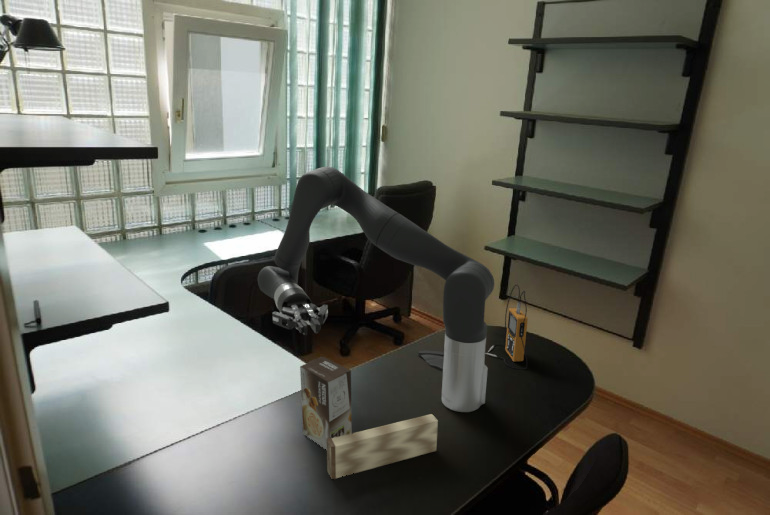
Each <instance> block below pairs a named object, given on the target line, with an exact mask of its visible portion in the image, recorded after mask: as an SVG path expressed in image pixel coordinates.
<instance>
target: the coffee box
mask: <svg viewBox="0 0 770 515" xmlns="http://www.w3.org/2000/svg"><path fill="white" fill-rule="evenodd" d="M299 370H300V371H299V376H300V393H301V394H300V395H301V412H302V413H301V416H302V434H304V436H305V435H306V436H307V437H306V436H305V437H306V438H308V437H309V438H310V439H309V438H308V439H309V440H311V439H312V440H313V441H314V443H315V442H316V443H317V444H316V443H315V444H316V445H318V444H319V445H320V446H319V445H318V446H319V447H321V448H322V447H323V448H322V449H323V450H325V449H326V450H325V451H327V438H330V437H331V438H335V437H339V436H343V435H347V434H351V433H353V432H352V370H351V369H349V368H347V367H345V366H343V365H341V364H339V363H337V362H335V361H333V360H332V359H329V358H327V357H325V356H324V355H321V356H319V357H317V358H314V359H312V360H310V361H308V362H307V363H305V364H302V365H300V366H299ZM312 440H311V441H312ZM313 441H312V442H313Z"/></svg>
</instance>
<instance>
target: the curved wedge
mask: <svg viewBox="0 0 770 515" xmlns="http://www.w3.org/2000/svg"><path fill="white" fill-rule="evenodd" d="M417 354H418V356H419V358H421V359H423V360H424V362H426V363H427V365H428V366H429V367H431V368H434V369H436V370H438V371H441V372H443V362H444V351H437V350H427V349H425V350H420V351H418V352H417Z"/></svg>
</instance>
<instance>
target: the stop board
mask: <svg viewBox="0 0 770 515" xmlns="http://www.w3.org/2000/svg"><path fill="white" fill-rule="evenodd" d="M438 422H439V420H438V419H437V418H436V417H435V416H434V415H433V414H432V413H430V414H425V415H422V416H417V417H413V418H409V419H405V420H401V421H397V422H393V423H389V424H385V425H381V426H377V427H373V428H367V429H365V430H360V431H356V432H352V433H351V434H347V435H343V436H339V437H335V438H331V437H330V438H327V450H326V470H327V473H328V475H330V476H329V478H330V477H331V478H330V479H334V480H336V479H338V478H339V479H340V478H342V476H343V477H346V475H347V476H349V475H353V473H354V474H357V473H361V472H364V471H368V470H372V469H375V468H379V467H383V466H385V465H386V466H387V465H389V464H394V463H397V462H400V461H403V460H408V459H412V458H416V457H419V456H421V455H426V454H429V453H433V452H437V444H438V443H437V442H438V426H439V425H438Z"/></svg>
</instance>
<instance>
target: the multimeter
mask: <svg viewBox="0 0 770 515" xmlns="http://www.w3.org/2000/svg"><path fill="white" fill-rule="evenodd" d="M516 286H517V287H518V299H517V300H518V301H517V305H516V307H513V308H512V307H511V308H508V306H509V304H510V303H509V302H510V299H511V296H512V294H513V291H514V289H515V287H516ZM520 291H521V290H520V286H519V285H518V284H515V285H514V286H513V287H512V289H511V292H510V294H509V297H508V300H507V304H506V310H505V315H504V317H505V318H504V335H503V341H502V343H497V344H493V345H492V346H490V348H488V349H489V350H488V351H487V352H485V355H487V356H490V357H494V358H499V359H503V362H504V364H505V365H507V366H508V367H509V368H512V369H515V370H526V369H527V368H528V363H529V362H528V356H527V351H526V337H527V329H528V320H529V318H528V317H527V311H528V310H527V302H526V290H523V291H522V292H520ZM522 296H523V299H524V305H525V314H524V313H523V311H522V310H521V306H522V305H521V301H522ZM507 312H508V316H507ZM504 343H505V348H504V349H505V352H506V353H507V355H508V356H509V357H510V359H511V360H512V361H513V362H523V361H524V359H526V360H525V361H526V366H525V367H524V368H521V367H516V366H514V367H513V366H512V365H510V364H508V363H507V362H506V359H505V358H504V357H501V356H497V355H496V354H492V353H491V352H490V351H492V350H493V349H494V347H495V346H503V345H504ZM489 352H490V353H489ZM524 356H525V358H524Z"/></svg>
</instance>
